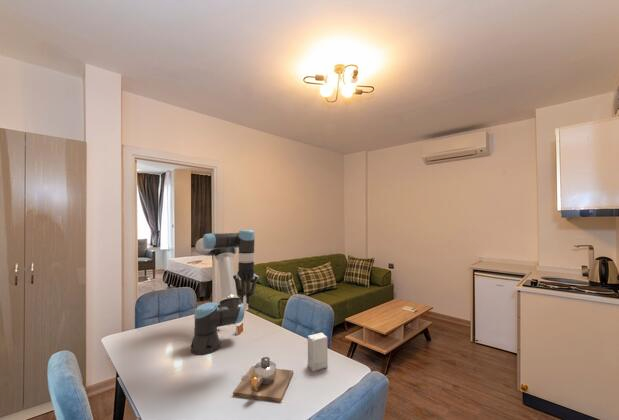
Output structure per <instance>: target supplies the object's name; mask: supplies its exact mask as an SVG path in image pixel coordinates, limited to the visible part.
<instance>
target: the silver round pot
mask: <svg viewBox="0 0 619 420" xmlns="http://www.w3.org/2000/svg"><path fill="white" fill-rule="evenodd" d="M260 359H261V360H260V361H259V362H257V363H256V364H255V365H254V366H255V376H252V377H251V391H253V392H255V391H257V390H258V387H259V385H260V384H261V383H262V382H267V381H271V380H273V379H274V378H275V377H276V369H277V365H276V363H275V362H274V361H272V360H271V359H270V357H268V356H264V357H262V358H260Z"/></svg>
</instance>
